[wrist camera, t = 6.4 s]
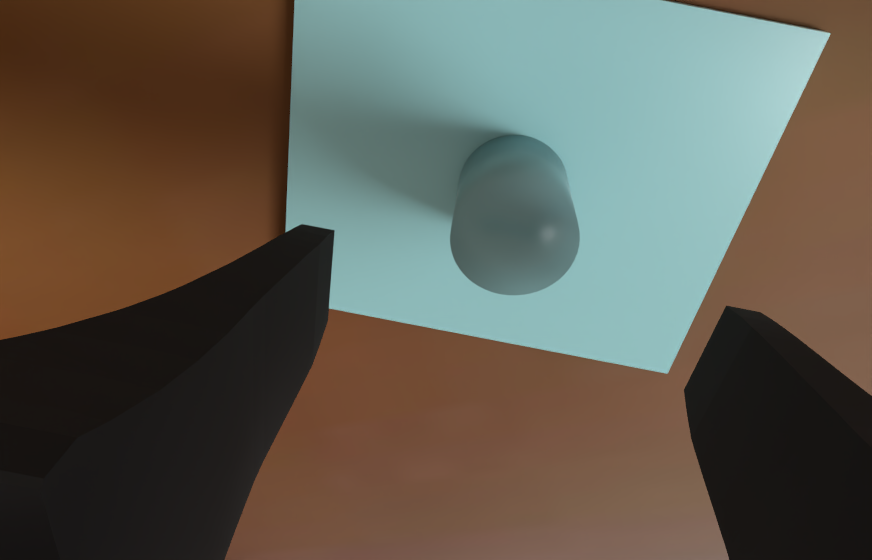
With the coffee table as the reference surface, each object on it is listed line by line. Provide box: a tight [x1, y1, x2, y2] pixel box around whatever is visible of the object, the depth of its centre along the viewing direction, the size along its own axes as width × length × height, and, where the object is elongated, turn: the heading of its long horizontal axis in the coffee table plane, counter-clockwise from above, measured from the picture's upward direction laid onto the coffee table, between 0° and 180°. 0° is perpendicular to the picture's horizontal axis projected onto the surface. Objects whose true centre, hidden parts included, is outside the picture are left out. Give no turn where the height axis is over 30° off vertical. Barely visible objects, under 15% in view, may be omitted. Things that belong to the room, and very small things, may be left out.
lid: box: [285, 0, 831, 373], centre depth 15 cm, size 12×10×4 cm
